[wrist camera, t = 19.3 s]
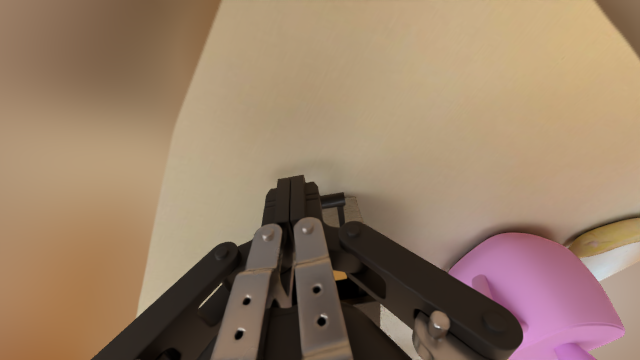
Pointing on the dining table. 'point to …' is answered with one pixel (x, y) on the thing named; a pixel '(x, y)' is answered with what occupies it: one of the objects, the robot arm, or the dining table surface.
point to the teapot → (542, 295)
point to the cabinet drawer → (336, 215)
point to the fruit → (606, 238)
